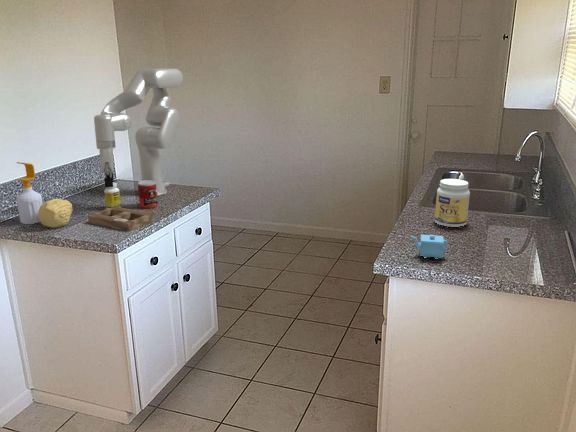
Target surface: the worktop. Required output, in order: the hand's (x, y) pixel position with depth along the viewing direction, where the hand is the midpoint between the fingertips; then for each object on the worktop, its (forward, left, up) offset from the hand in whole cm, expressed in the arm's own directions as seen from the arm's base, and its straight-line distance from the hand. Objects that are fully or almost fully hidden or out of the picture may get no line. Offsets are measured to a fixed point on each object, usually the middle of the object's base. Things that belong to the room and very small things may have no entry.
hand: (109, 184), depth 227 cm
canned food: (-10, +12, -11) cm, 19 cm away
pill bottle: (-1, 0, -11) cm, 11 cm away
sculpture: (+26, -3, -11) cm, 29 cm away
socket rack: (+11, +17, -11) cm, 23 cm away
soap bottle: (+27, -16, -11) cm, 33 cm away
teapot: (-10, +135, -11) cm, 136 cm away
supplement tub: (-47, +134, -11) cm, 142 cm away
